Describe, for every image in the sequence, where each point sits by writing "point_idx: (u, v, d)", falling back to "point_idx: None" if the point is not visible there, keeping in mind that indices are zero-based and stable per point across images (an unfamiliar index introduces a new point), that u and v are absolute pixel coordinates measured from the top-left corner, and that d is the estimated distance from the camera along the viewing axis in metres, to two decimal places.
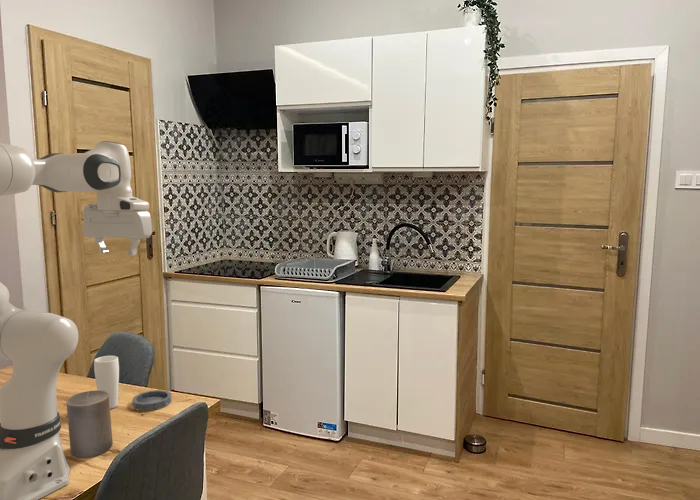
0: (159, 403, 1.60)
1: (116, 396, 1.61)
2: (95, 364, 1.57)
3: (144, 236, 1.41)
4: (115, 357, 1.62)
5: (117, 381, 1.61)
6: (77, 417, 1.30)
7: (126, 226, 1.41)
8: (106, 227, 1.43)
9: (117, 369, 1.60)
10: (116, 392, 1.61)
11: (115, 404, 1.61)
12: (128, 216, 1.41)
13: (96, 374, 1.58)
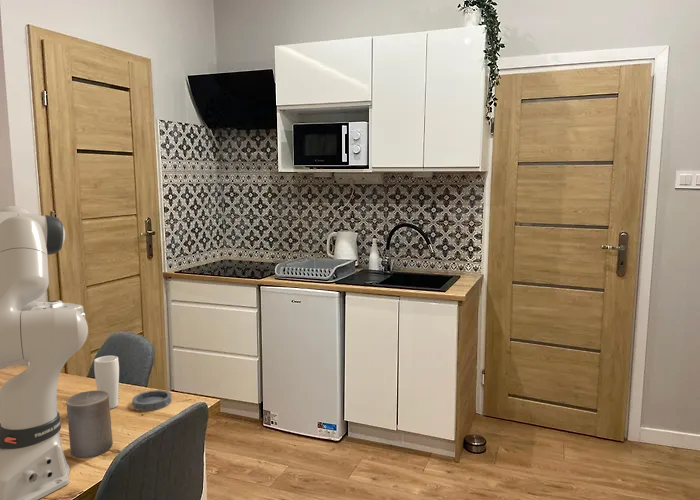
0: (159, 403, 1.60)
1: (116, 396, 1.61)
2: (95, 364, 1.57)
3: (82, 307, 1.73)
4: (115, 357, 1.62)
5: (117, 381, 1.61)
6: (77, 417, 1.30)
7: None
8: None
9: (117, 369, 1.60)
10: (116, 392, 1.61)
11: (115, 404, 1.61)
12: (59, 306, 1.71)
13: (96, 374, 1.58)
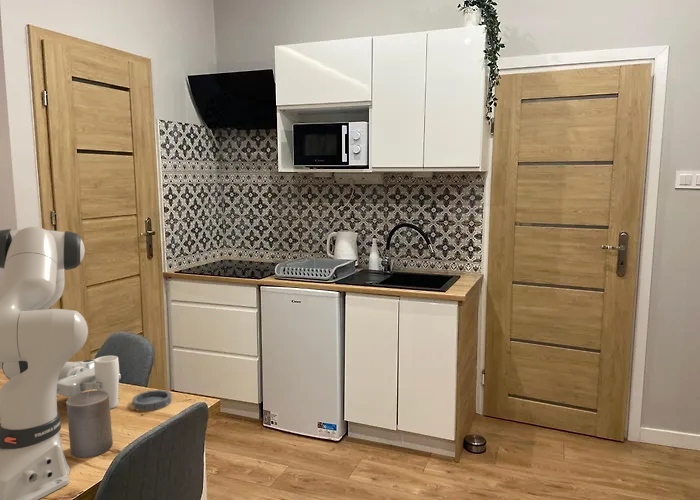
0: (159, 403, 1.60)
1: (116, 396, 1.61)
2: (95, 364, 1.57)
3: None
4: (115, 357, 1.62)
5: (117, 381, 1.61)
6: (77, 417, 1.30)
7: None
8: (85, 375, 1.61)
9: (117, 369, 1.60)
10: (116, 392, 1.61)
11: (115, 404, 1.61)
12: None
13: (96, 374, 1.58)
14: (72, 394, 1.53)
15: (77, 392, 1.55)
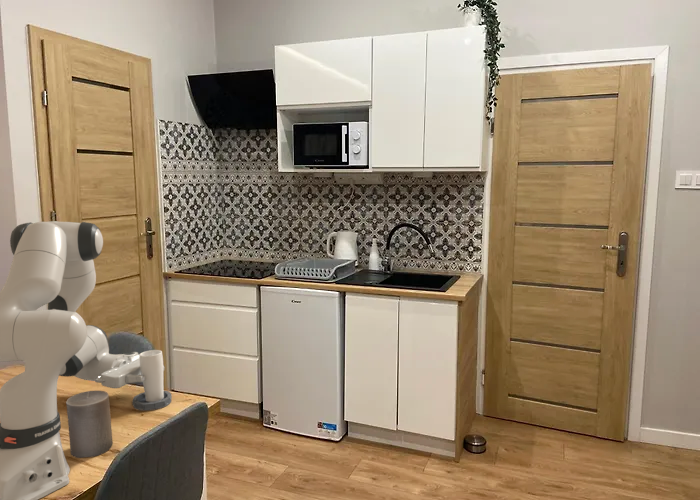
0: (159, 403, 1.60)
1: (162, 389, 1.64)
2: (141, 358, 1.61)
3: None
4: (159, 351, 1.65)
5: (162, 374, 1.64)
6: (77, 417, 1.30)
7: None
8: (129, 367, 1.63)
9: (161, 362, 1.63)
10: (161, 385, 1.63)
11: (161, 397, 1.63)
12: (137, 358, 1.71)
13: (142, 368, 1.61)
14: (118, 386, 1.55)
15: (122, 384, 1.57)
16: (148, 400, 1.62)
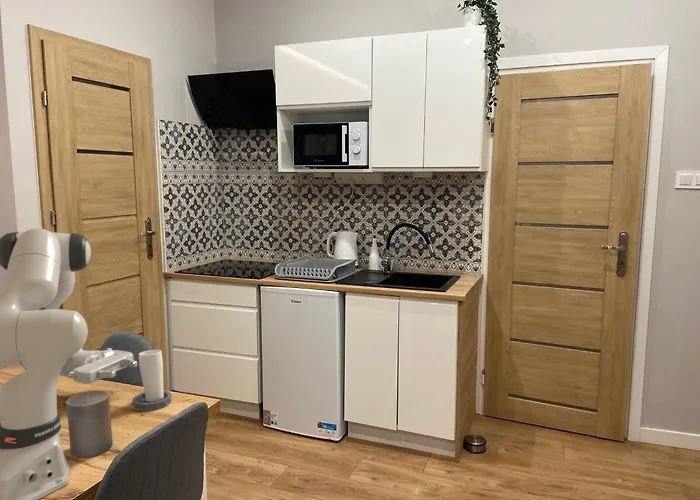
0: (159, 403, 1.60)
1: (161, 389, 1.64)
2: (140, 357, 1.61)
3: (132, 354, 1.77)
4: (158, 351, 1.66)
5: (162, 374, 1.64)
6: (77, 417, 1.30)
7: (115, 356, 1.73)
8: (101, 363, 1.66)
9: (161, 362, 1.63)
10: (161, 385, 1.64)
11: (161, 397, 1.63)
12: (110, 354, 1.74)
13: (141, 367, 1.61)
14: (89, 381, 1.59)
15: (94, 379, 1.60)
16: (148, 400, 1.62)
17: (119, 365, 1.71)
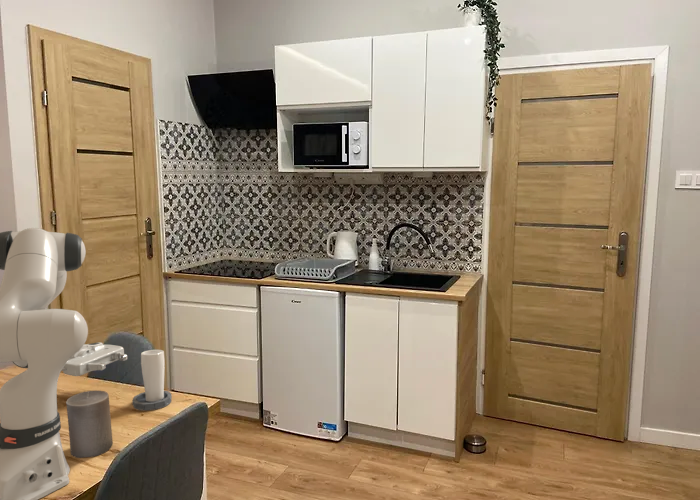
0: (159, 403, 1.60)
1: (162, 389, 1.64)
2: (142, 357, 1.61)
3: None
4: (160, 351, 1.66)
5: (163, 374, 1.64)
6: (77, 417, 1.30)
7: (105, 350, 1.73)
8: (91, 356, 1.67)
9: (163, 362, 1.63)
10: (162, 385, 1.64)
11: (161, 397, 1.63)
12: (101, 348, 1.75)
13: (143, 367, 1.61)
14: (79, 373, 1.59)
15: (84, 372, 1.60)
16: (148, 399, 1.62)
17: (109, 359, 1.71)
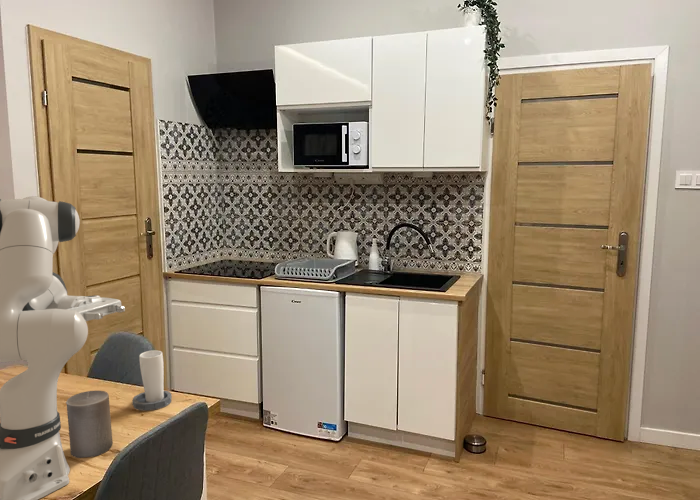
0: (159, 403, 1.60)
1: (162, 390, 1.63)
2: (141, 359, 1.60)
3: (120, 301, 1.75)
4: (159, 352, 1.64)
5: (162, 375, 1.63)
6: (77, 417, 1.30)
7: (102, 302, 1.71)
8: (88, 306, 1.65)
9: (161, 364, 1.62)
10: (161, 386, 1.63)
11: (161, 398, 1.63)
12: (98, 301, 1.73)
13: (142, 369, 1.60)
14: None
15: None
16: (148, 400, 1.62)
17: (106, 310, 1.70)
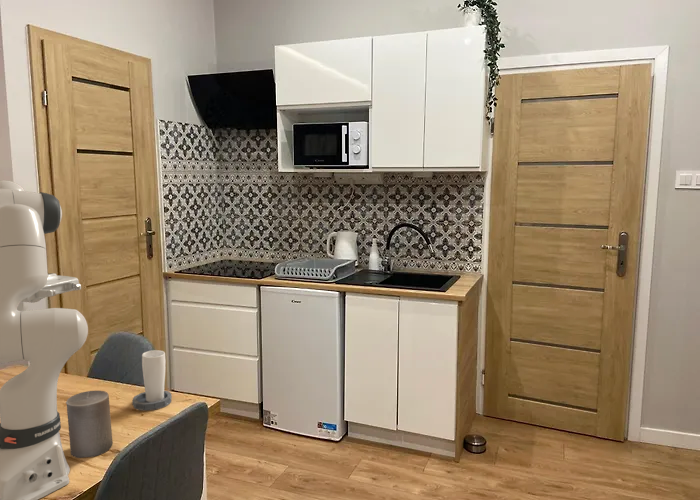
0: (159, 403, 1.60)
1: (162, 390, 1.63)
2: (143, 359, 1.60)
3: (78, 280, 1.68)
4: (162, 352, 1.65)
5: (164, 376, 1.63)
6: (77, 417, 1.30)
7: (58, 280, 1.64)
8: None
9: (163, 364, 1.62)
10: (162, 386, 1.63)
11: (161, 398, 1.63)
12: (54, 279, 1.66)
13: (144, 368, 1.60)
14: (26, 299, 1.50)
15: (32, 297, 1.52)
16: (148, 400, 1.62)
17: (62, 288, 1.63)
